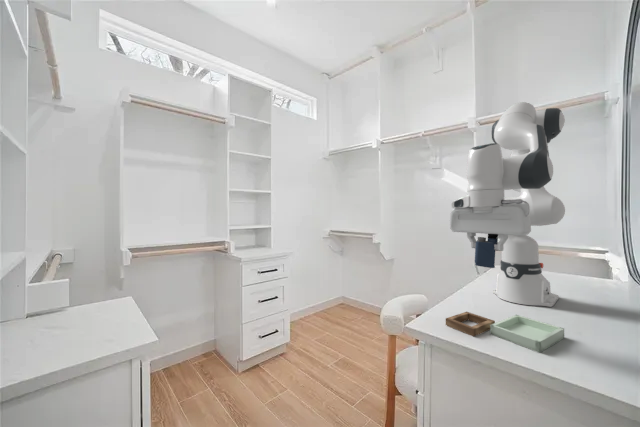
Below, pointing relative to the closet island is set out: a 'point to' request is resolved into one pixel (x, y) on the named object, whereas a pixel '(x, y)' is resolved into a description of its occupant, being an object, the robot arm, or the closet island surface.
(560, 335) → the tray
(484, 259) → the vaping device
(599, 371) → the closet island surface
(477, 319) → the holder
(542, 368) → the closet island surface
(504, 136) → the robot arm
